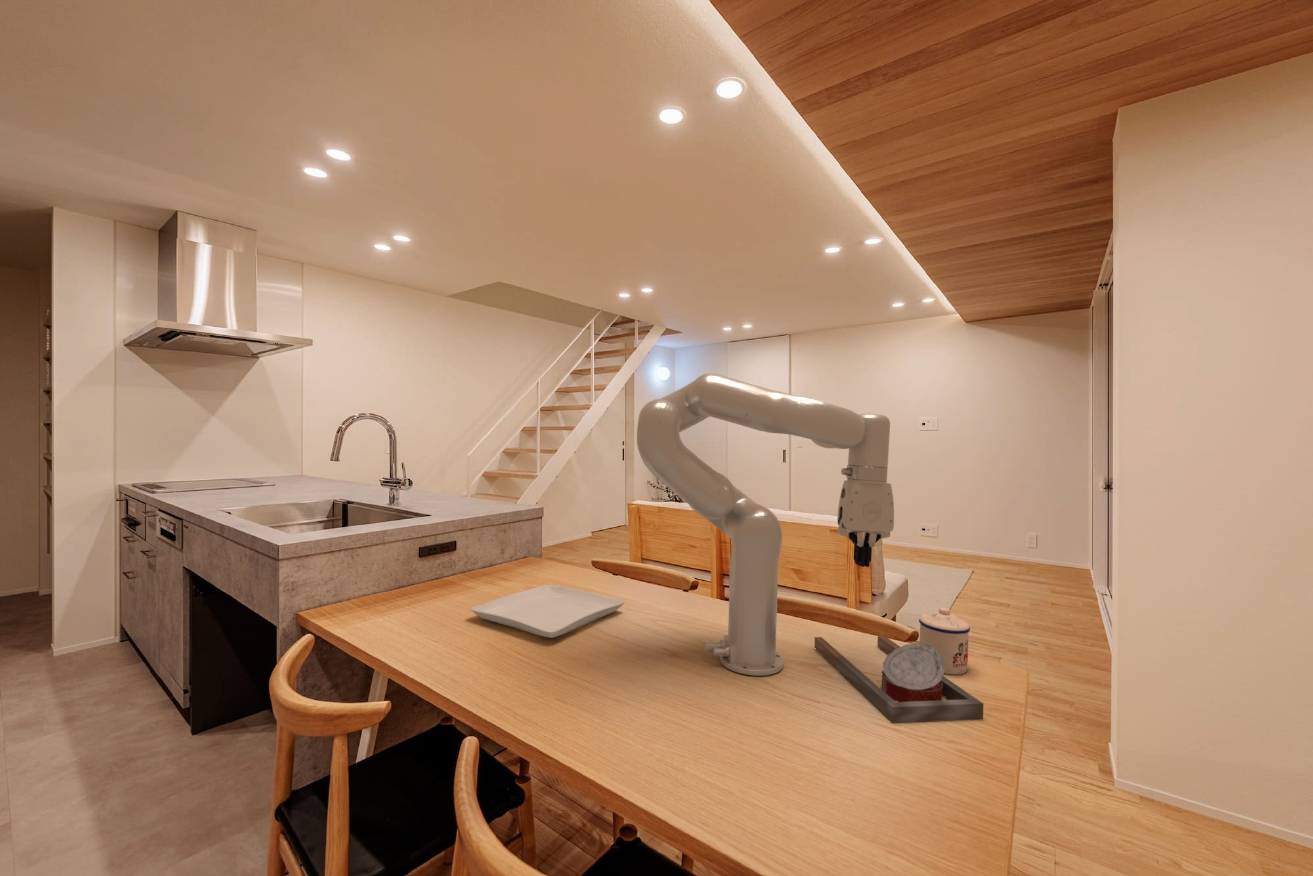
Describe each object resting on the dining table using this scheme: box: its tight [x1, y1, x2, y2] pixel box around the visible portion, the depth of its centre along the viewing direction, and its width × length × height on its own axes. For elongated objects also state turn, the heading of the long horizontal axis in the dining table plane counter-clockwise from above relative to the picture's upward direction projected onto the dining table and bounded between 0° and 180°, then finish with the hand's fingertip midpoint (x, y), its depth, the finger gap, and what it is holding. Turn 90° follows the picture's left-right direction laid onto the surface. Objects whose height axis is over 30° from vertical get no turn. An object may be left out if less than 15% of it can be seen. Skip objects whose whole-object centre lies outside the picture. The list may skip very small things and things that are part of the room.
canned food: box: [881, 642, 945, 702], centre depth 95 cm, size 11×10×10 cm
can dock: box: [814, 635, 984, 724], centre depth 100 cm, size 16×30×2 cm, turn 7°
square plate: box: [469, 583, 626, 639], centre depth 129 cm, size 27×27×4 cm
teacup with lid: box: [918, 607, 971, 676], centre depth 108 cm, size 12×9×12 cm
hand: (861, 565), depth 107 cm, fingers closed
